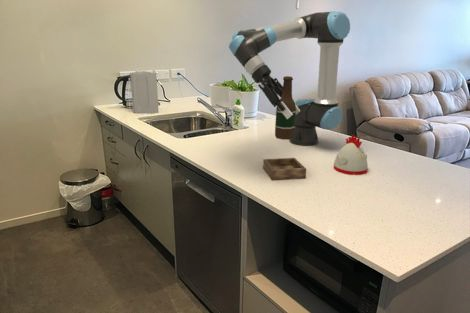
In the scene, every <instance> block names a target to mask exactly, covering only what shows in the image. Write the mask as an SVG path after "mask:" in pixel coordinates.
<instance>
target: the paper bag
mask: <svg viewBox="0 0 470 313" xmlns="http://www.w3.org/2000/svg"><path fill="white" fill-rule="evenodd" d="M129 78H130V87H131V98H132V112H133V114H136V115H138V114H140V115H141V114H142V115H143V114H159V113H160V112H159V97H158V82H157V73H156V72H151V71H145V70H141V71H140V70H138V71H135V72H134V71H133V72H130V77H129Z"/></svg>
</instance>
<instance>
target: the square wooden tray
mask: <svg viewBox="0 0 470 313" xmlns="http://www.w3.org/2000/svg"><path fill="white" fill-rule="evenodd" d="M262 162H263V163H262V168H263V170H264V172H265V173H266V174H267V175H268V177H269V179H270V180H271V181H280V180H281V181H282V180H283V181H284V180H296V179H297V180H299V179H300V180H301V179H306V178H307V177H306V176H307V168H306V167H305V166H304V165H303V164H302V163H301V162H300V161H299V160H298V159H296V158H295V157H280V158H263V160H262Z"/></svg>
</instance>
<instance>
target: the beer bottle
mask: <svg viewBox="0 0 470 313" xmlns="http://www.w3.org/2000/svg"><path fill="white" fill-rule="evenodd" d="M282 79H283V84H282V86H283V91H282V96H281V97H279V99H280V101H281V102H282V101H283V103H284V104H285V105H286V106H287V108H288V109H289V110H290V111H291V113H292V114H293V115H292V116H291V117H290V118H288V119H287V118H286V117H285V116H284V115H283V113H282V112H281V111H280V109H279V108H278V107H277V106H276V107H275V125H274V126H275V127H274V128H275V129H274V136H275V138H276V139H279V140H285V141H286V140H287V141H288V140H289V139H292V138H294V129H295V115H296V105H295V102H296V101H294V98H293V80H294V78H293V77H292V76H290V75H289V76H288V75H287V76H283V78H282ZM281 102H280V103H281Z"/></svg>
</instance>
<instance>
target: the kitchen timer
mask: <svg viewBox="0 0 470 313" xmlns="http://www.w3.org/2000/svg"><path fill="white" fill-rule="evenodd" d="M360 140H361V137H357V135H356V136H354V135H353V134H352V135H351V136H349V137H348V138H345V142H346V144H345V145H344V146H343V147H342V148H341V149H339V151H338V153H337V154H336V157H335V159H334V162H333V169H334V170H335V171H336V172H338V173H340V174H344V175H348V176H361V175H365V174H367V172H368V168H369V167H368V165H369V164H368V154H367V153H366V152H365V151H364V149H363V148H362V146H361V145H362V143H363V140H362V141H360Z"/></svg>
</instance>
